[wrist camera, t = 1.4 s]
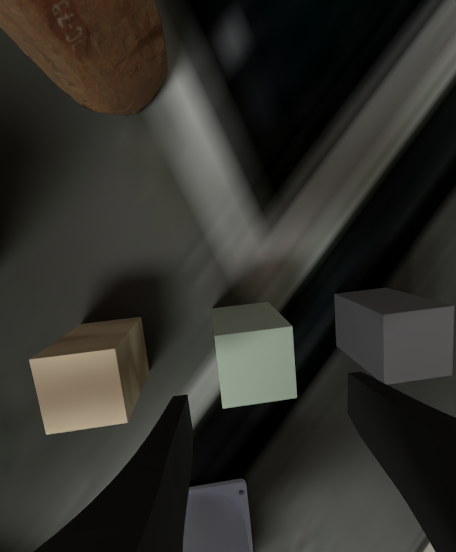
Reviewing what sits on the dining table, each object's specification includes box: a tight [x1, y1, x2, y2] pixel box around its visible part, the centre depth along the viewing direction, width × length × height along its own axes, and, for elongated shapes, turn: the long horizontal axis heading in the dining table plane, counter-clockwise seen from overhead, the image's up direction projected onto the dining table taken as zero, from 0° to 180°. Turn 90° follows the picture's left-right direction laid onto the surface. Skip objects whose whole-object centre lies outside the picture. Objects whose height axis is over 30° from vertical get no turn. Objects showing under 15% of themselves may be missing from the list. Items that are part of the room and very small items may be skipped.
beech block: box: [29, 317, 149, 435], centre depth 18 cm, size 4×4×6 cm
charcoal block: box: [334, 288, 454, 385], centre depth 19 cm, size 4×4×6 cm
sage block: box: [212, 302, 297, 409], centre depth 18 cm, size 4×4×6 cm
